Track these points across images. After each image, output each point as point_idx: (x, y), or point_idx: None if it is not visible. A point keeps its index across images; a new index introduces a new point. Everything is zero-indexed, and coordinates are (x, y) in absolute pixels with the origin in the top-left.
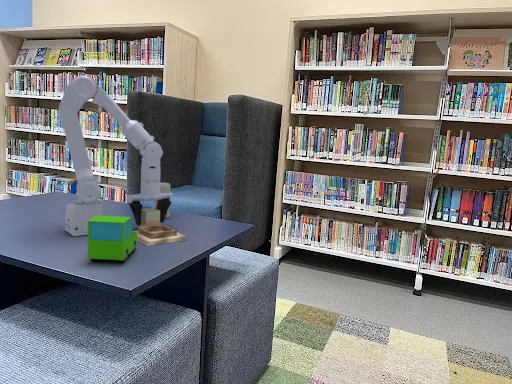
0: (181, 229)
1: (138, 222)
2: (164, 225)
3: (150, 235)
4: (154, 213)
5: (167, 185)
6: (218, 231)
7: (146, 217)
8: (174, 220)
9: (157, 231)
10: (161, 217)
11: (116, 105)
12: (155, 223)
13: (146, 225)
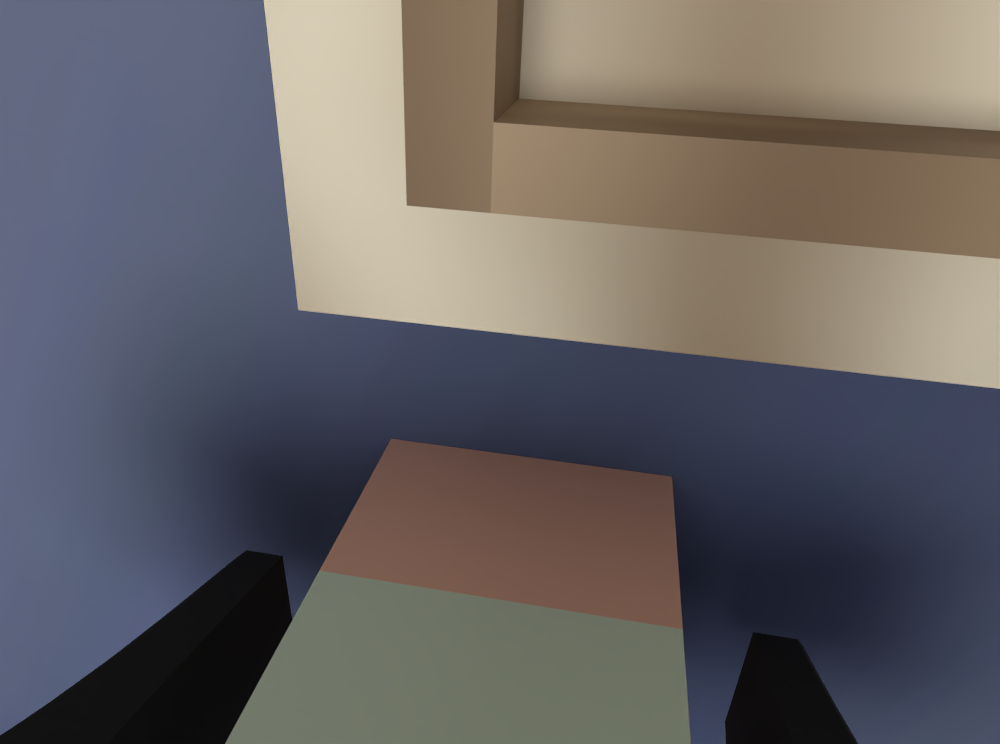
0: (8, 221)
1: (832, 700)
2: (447, 60)
3: None
4: None
5: None
6: None
7: (686, 731)
8: (4, 684)
9: (716, 41)
10: (222, 661)
11: None
12: (451, 538)
13: (672, 558)
